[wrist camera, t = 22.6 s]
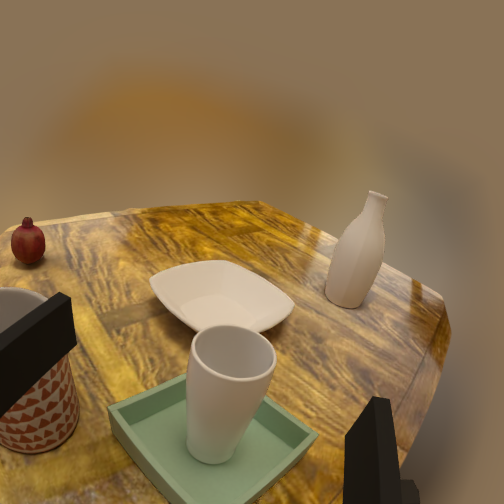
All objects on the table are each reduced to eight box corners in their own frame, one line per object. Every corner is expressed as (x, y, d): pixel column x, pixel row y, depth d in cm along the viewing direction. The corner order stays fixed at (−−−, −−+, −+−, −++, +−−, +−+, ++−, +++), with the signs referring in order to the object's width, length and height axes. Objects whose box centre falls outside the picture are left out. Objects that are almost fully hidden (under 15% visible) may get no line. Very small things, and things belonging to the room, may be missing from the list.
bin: (304, 455, 30) (319, 433, 28) (206, 537, 19) (212, 527, 17) (213, 382, 39) (218, 356, 37) (111, 431, 27) (106, 406, 25)
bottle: (310, 288, 71) (343, 182, 62) (342, 284, 77) (374, 189, 68) (342, 315, 63) (384, 199, 53) (372, 307, 69) (411, 205, 59)
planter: (68, 469, 21) (32, 397, 16) (-32, 432, 18) (-80, 349, 13) (90, 379, 33) (79, 297, 28) (4, 357, 30) (-18, 277, 25)
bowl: (221, 276, 67) (225, 254, 65) (301, 329, 55) (310, 305, 53) (133, 300, 51) (134, 274, 50) (212, 379, 39) (218, 352, 37)
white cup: (251, 462, 27) (294, 370, 22) (191, 478, 24) (209, 389, 18) (225, 417, 33) (253, 318, 27) (170, 428, 29) (179, 326, 24)
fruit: (27, 251, 56) (25, 208, 52) (53, 259, 56) (52, 214, 52) (6, 266, 48) (1, 220, 44) (32, 275, 49) (28, 227, 45)
